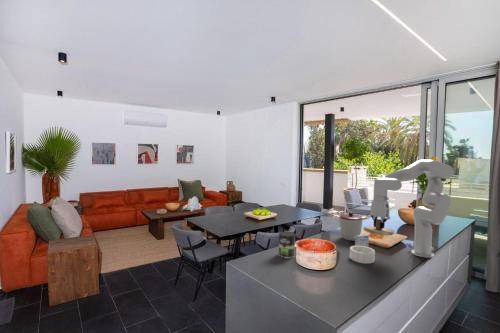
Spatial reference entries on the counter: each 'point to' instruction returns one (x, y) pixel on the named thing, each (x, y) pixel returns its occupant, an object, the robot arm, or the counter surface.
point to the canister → (350, 226)
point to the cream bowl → (362, 254)
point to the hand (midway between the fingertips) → (378, 227)
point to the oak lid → (378, 229)
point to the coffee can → (286, 244)
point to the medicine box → (361, 240)
